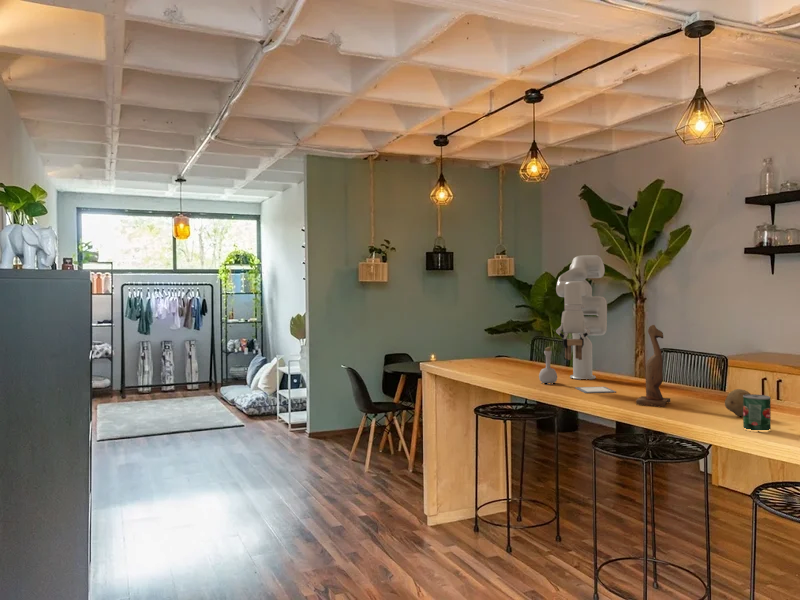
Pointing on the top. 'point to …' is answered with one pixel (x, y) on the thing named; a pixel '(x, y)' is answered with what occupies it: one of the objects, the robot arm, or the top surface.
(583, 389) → the mat
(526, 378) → the top surface
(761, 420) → the canned tomato
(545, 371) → the potion bottle
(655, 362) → the bird sculpture
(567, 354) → the stool
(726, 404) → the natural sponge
